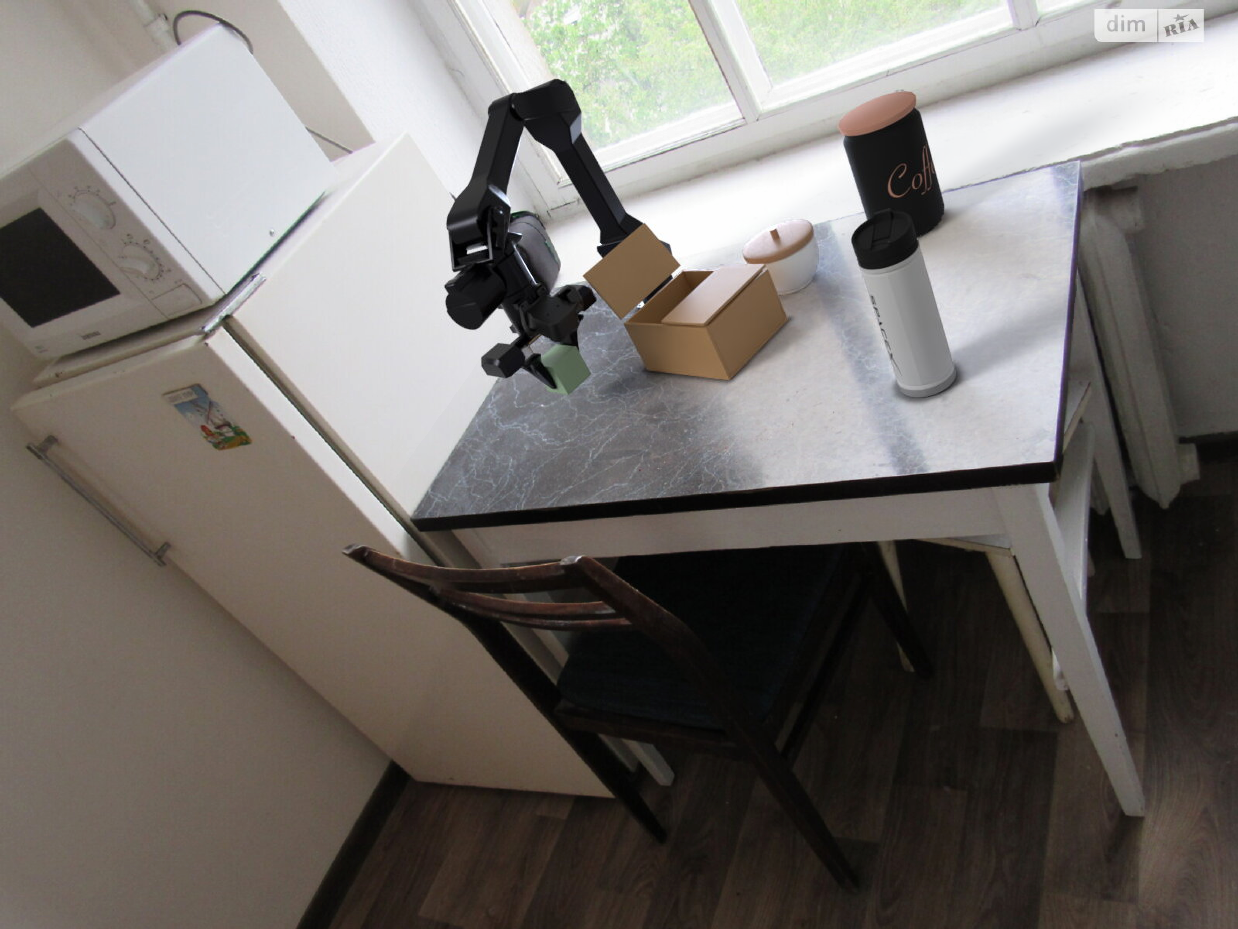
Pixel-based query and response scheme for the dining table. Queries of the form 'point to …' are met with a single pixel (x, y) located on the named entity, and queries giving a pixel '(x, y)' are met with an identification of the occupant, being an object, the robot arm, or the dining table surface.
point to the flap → (631, 271)
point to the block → (565, 368)
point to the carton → (708, 321)
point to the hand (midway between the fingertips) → (566, 377)
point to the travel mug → (904, 303)
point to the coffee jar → (893, 159)
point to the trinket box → (786, 254)
